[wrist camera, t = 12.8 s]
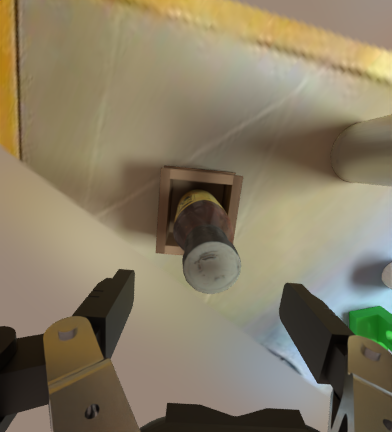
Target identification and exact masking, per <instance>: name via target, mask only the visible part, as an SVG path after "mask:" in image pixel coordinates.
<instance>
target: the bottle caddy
mask: <svg viewBox="0 0 392 432" xmlns="http://www.w3.org/2000/svg"><path fill="white" fill-rule="evenodd" d="M235 174H236V173H232V172H222V171H212V170H203V169H193V168H184V167H174V166H164V168H161V176H160V192H159V208H158V224H157V240H156V253H161V254H174V255H184V251H183V250H182V249H181V248H180V247H179V245H178V244H177V243H176V241H175V239H174V235H173V227H174V222H175V217H176V212H177V207H178V203H179V201H180V199H181V198H182V196H183V195H184V194H186V193H187V192H188V191H191V190H195V189H202V190H205V191H207V192H209V193H210V194H212V195H213V196H214V197H215V199H216V200H217V201H218V203H219V204H220V205H221V206H222V208H223V209H224V210H225V212H226V213H227V215H228V217H229V219H230V221H231V223H232V226H233V240H234V234H235V227H236V220H237V214H238V207H239V200H240V194H241V187H242V180H243V176H238V175H235ZM232 244H233V241H232Z"/></svg>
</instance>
